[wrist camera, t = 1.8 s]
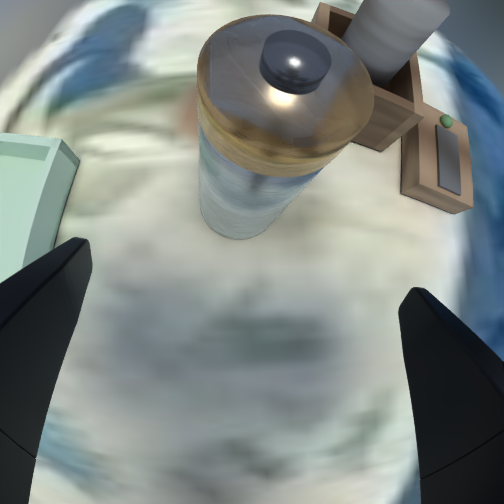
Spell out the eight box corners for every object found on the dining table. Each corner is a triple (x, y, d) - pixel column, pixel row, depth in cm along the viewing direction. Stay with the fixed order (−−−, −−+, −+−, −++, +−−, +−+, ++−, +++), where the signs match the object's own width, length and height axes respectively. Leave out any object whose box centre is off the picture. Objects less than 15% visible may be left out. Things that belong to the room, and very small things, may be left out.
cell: (269, 248, 21) (386, 162, 7) (190, 230, 20) (169, 104, 6) (283, 175, 21) (383, 31, 8) (209, 157, 21) (226, -16, 7)
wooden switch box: (454, 214, 23) (480, 205, 20) (401, 193, 23) (426, 179, 19) (450, 136, 25) (472, 122, 21) (401, 112, 24) (422, 93, 21)
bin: (381, 151, 23) (496, 59, 10) (285, 120, 22) (357, -20, 9) (382, 79, 24) (462, -14, 11) (299, 49, 23) (353, -71, 10)
